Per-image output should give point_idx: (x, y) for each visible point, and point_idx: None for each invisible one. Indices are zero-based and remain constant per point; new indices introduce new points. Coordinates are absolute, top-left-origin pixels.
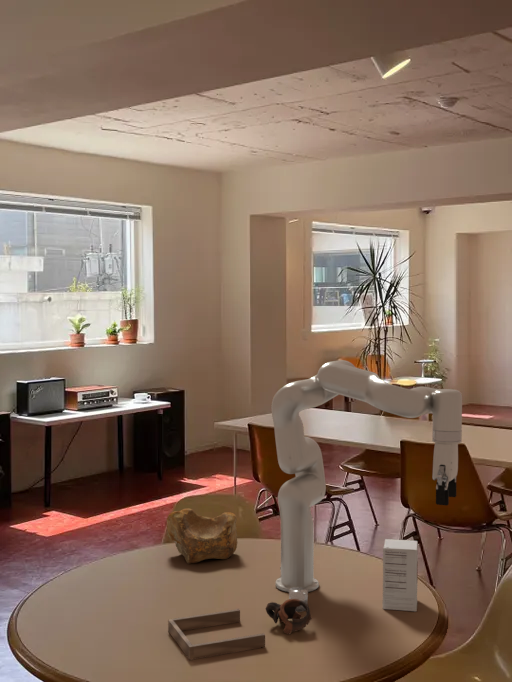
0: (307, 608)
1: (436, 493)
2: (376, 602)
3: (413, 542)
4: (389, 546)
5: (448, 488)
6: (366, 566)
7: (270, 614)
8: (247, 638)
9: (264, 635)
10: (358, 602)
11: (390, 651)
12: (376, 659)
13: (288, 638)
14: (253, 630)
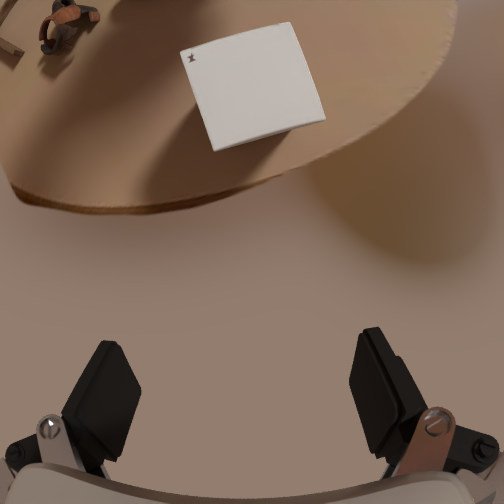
0: (56, 42)
1: (75, 391)
2: None
3: (296, 112)
4: (204, 60)
5: (372, 394)
6: (412, 17)
7: (64, 5)
8: (4, 49)
9: (12, 54)
10: None
11: (65, 181)
12: (42, 178)
13: None
14: None
